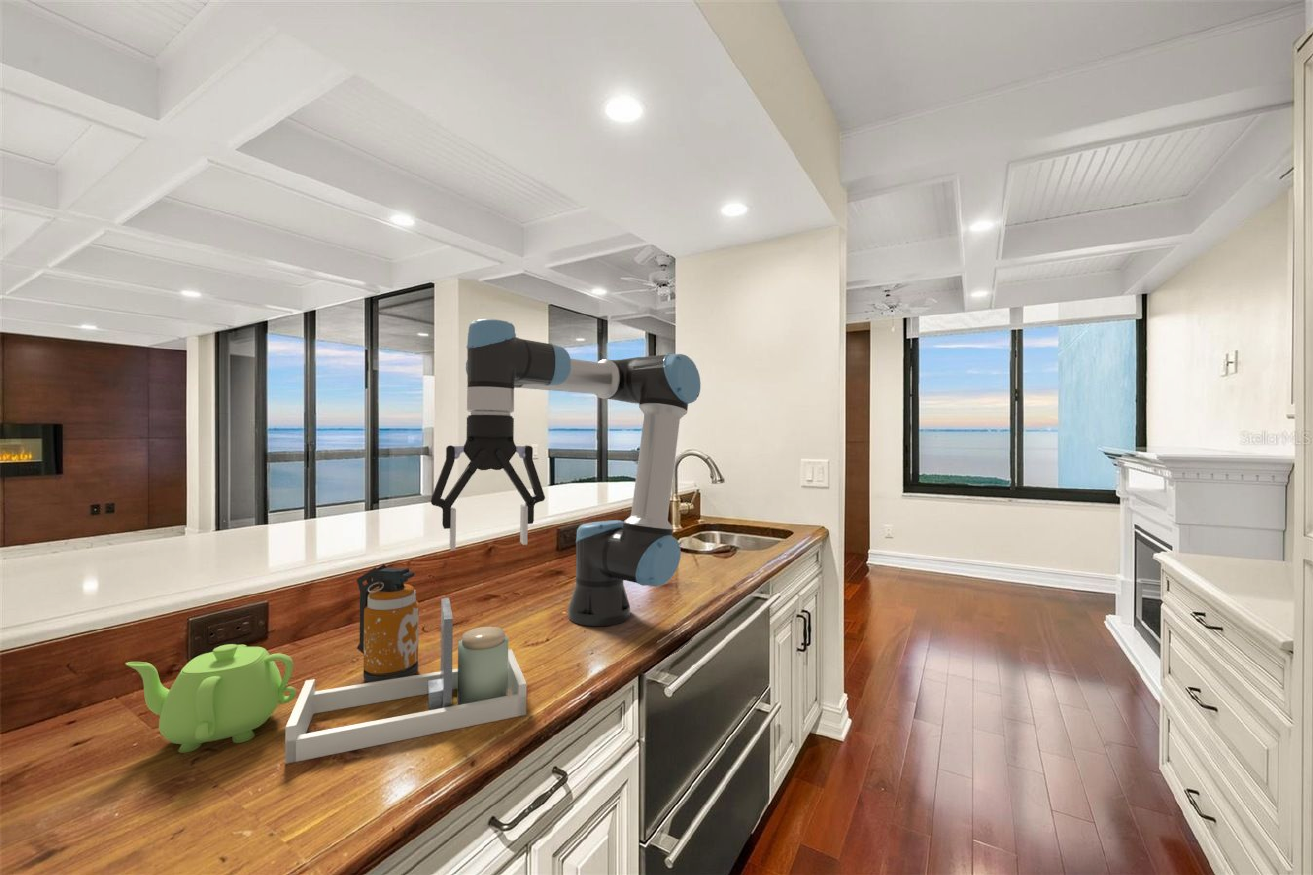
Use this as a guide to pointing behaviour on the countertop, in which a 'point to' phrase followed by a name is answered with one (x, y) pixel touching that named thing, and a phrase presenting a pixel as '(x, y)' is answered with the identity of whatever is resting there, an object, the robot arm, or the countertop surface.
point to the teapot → (218, 695)
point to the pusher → (443, 663)
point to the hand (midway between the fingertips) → (489, 545)
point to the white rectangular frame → (396, 727)
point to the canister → (388, 624)
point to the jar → (482, 665)
